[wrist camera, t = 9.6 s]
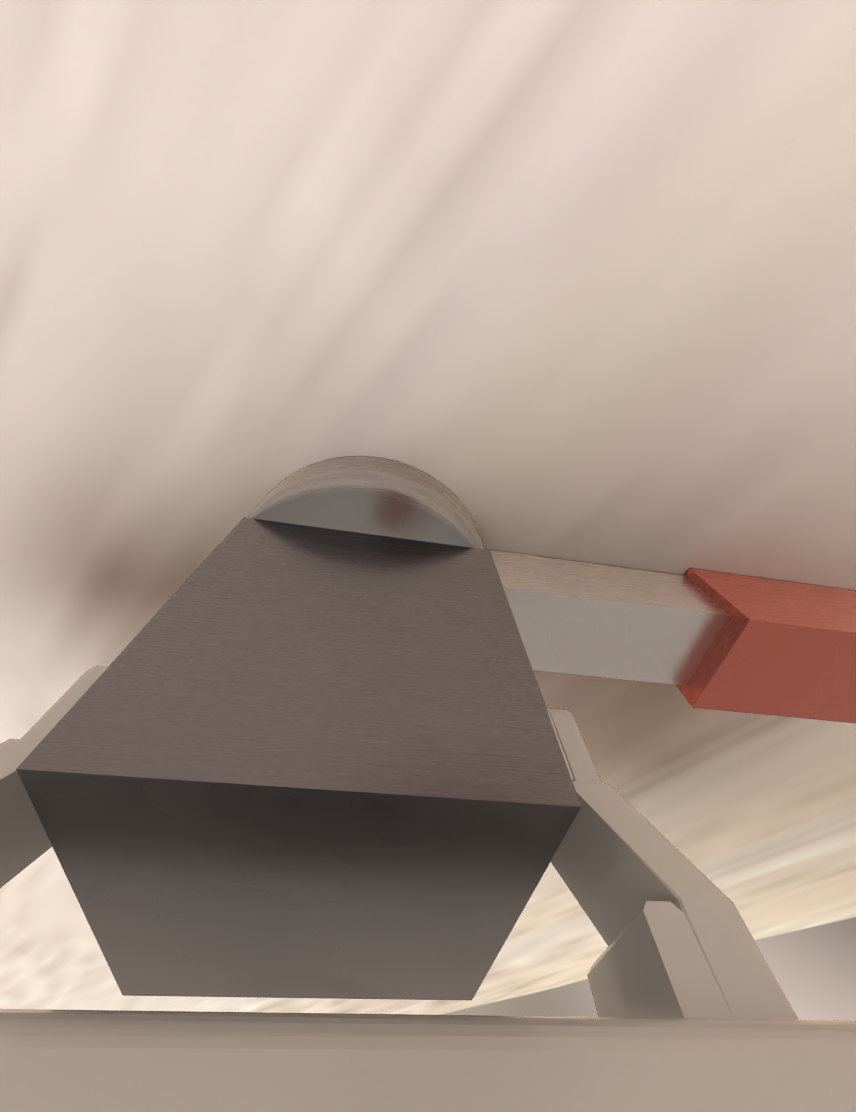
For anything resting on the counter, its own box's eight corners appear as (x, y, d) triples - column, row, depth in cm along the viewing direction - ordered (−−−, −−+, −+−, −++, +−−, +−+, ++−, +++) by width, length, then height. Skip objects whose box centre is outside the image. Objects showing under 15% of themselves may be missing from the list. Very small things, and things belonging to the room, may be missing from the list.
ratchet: (968, 547, 14) (1483, 747, 7) (828, 708, 17) (1086, 941, 11) (239, 435, 11) (-5, 583, 5) (249, 650, 15) (118, 907, 8)
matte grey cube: (490, 550, 10) (580, 806, 4) (446, 715, 12) (471, 1000, 7) (244, 517, 9) (17, 768, 4) (252, 697, 12) (122, 995, 6)
